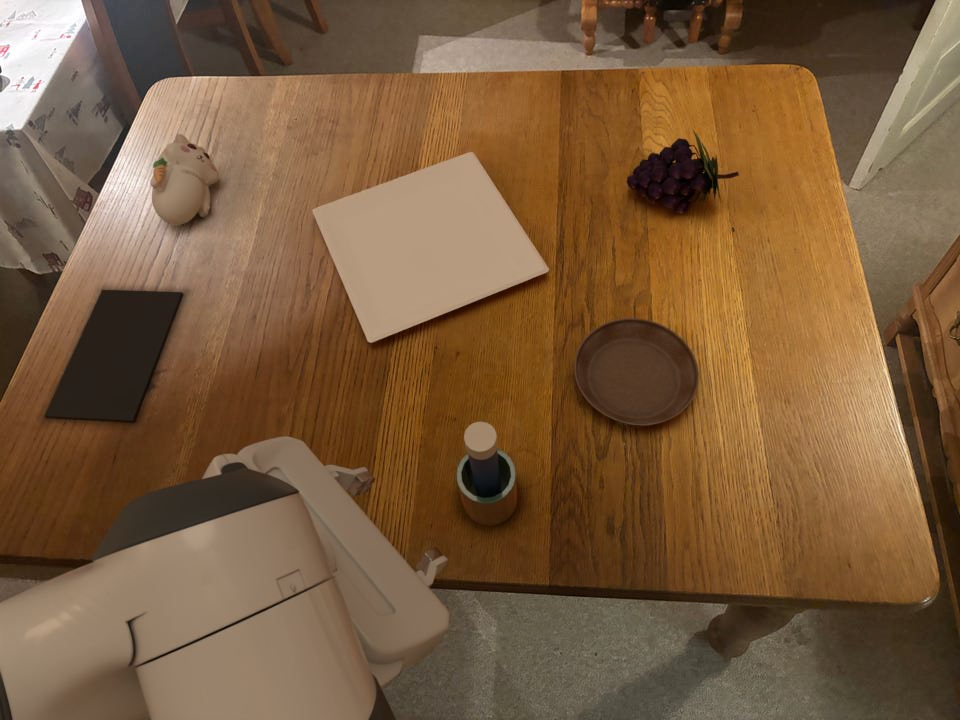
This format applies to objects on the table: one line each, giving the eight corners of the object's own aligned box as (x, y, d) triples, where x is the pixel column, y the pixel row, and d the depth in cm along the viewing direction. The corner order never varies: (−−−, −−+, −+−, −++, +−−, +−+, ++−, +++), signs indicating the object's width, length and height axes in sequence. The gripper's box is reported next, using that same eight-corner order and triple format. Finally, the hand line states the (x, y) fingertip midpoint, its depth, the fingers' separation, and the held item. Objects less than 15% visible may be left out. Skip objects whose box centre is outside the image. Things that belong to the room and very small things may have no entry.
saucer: (718, 376, 81) (724, 365, 79) (644, 458, 77) (647, 449, 74) (623, 310, 87) (626, 298, 85) (548, 382, 82) (549, 371, 80)
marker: (491, 515, 74) (482, 457, 59) (471, 499, 75) (457, 438, 60) (508, 495, 75) (503, 434, 60) (488, 479, 76) (478, 415, 61)
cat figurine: (155, 193, 91) (174, 110, 97) (123, 213, 95) (144, 132, 101) (215, 226, 98) (230, 147, 104) (183, 244, 102) (200, 167, 108)
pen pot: (493, 537, 73) (489, 515, 66) (451, 502, 75) (444, 478, 68) (528, 495, 75) (528, 469, 68) (486, 463, 78) (482, 435, 71)
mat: (134, 422, 83) (132, 420, 83) (46, 417, 84) (43, 416, 84) (183, 294, 93) (182, 291, 93) (104, 291, 94) (102, 289, 94)
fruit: (631, 193, 102) (735, 176, 97) (632, 237, 95) (743, 221, 90) (622, 134, 94) (734, 113, 90) (622, 177, 88) (742, 157, 83)
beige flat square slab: (371, 351, 86) (368, 342, 85) (314, 217, 99) (310, 208, 97) (549, 279, 91) (550, 269, 89) (473, 160, 103) (472, 149, 101)
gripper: (383, 673, 38) (507, 586, 50) (202, 439, 46) (345, 411, 58) (340, 734, 41) (468, 638, 52) (176, 502, 49) (318, 462, 60)
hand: (402, 517), depth 55 cm, fingers open, 8 cm apart
